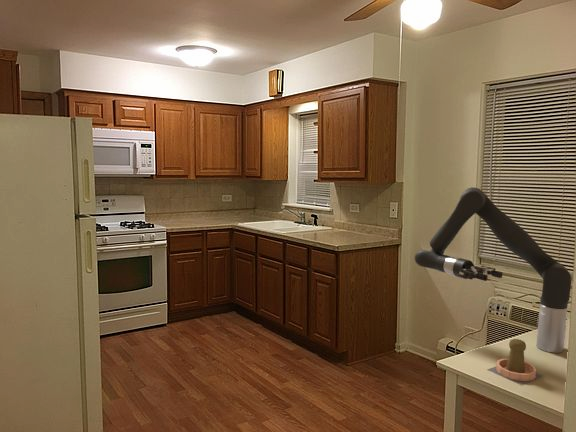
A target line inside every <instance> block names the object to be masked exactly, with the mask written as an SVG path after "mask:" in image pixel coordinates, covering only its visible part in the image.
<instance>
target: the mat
mask: <svg viewBox="0 0 576 432" xmlns="http://www.w3.org/2000/svg"><path fill="white" fill-rule="evenodd" d="M486 370H487V371H489V372H491V373H493V374H495V375H498V376H500V377H503V378H504V379H506V380H509V381H511V382H513V383H515V384H517V385H518V386H519V385H520V386H524V385H527V384H530V383H531V382H532V383H533V382H534V381H537V380H539V379H542V378H544V377H546V376H545V375H544V374H540V373H538V372H536V377H535V379H534V380H532V381H516V380H512V379H508V378H506V377H504V376H502V375H500V374H499V373H498V372H497V370H496V366H493V367H489V368H488V369H486Z"/></svg>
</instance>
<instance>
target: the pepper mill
mask: <svg viewBox="0 0 576 432" xmlns="http://www.w3.org/2000/svg"><path fill="white" fill-rule="evenodd" d="M508 346H509V348H510V350H509V354H508V358H507V359H508V362H507V366H506V370H508V371H511V372H516V373H525V362H526V361H525V351H526V349H527V345H526V342H525V341H524V340H522V339H518V338H513V339H510V341H509V343H508ZM524 361H525V362H524Z"/></svg>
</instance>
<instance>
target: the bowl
mask: <svg viewBox="0 0 576 432" xmlns="http://www.w3.org/2000/svg"><path fill="white" fill-rule="evenodd" d="M507 362H508V358H501V359H498V360H496V364H495V365H496V366H495V367H496V370H497V372H498V373H499V374H500V375H502V376H504V377H506V378H508V379H512V380H516V381H532V380H534V379H535V377H536V373H537V367H535V366H534V365H533V364H531V363H529V362H526V361H525V360H524V362H525V373H516V372H511V371H508V370H506V366H507ZM500 375H499V376H500ZM502 376H501V377H502ZM504 377H503V378H504ZM506 378H505V379H506ZM508 379H507V380H508ZM532 382H533V381H532Z"/></svg>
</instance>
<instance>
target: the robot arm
mask: <svg viewBox="0 0 576 432" xmlns="http://www.w3.org/2000/svg"><path fill="white" fill-rule="evenodd" d="M475 214H476V215H477V216H478V217H479V218H481V219H482V220H483V221H484V222H485V223H486V225H487V226H488V227H489V229H490V230H491V232H492V233H493V235H494V236H495V237H496V238H497V240H498V241H499V242H500V243H502V244H503V245H504V246H505V247H506V248H507V249H508V250H509V251H511V252H512V253H513V254H515V255H516V256H517V257H519V258H520V259H522V260H524V261H525V262H526V263H527V264H529V265H530V266H531V267H532V268H533V269H534V270H535V271H536V273H538V275H539V276H540V277H541V278H542V280H543V282H542V291H541V292H542V293H541V296H540V301H539V311H538V312H539V314H538V321H537V322H538V324H537V335H536V346H535V347H537V348H538V349H539V350H542V351H544V352H546V353H547V352H548V353H552V354H553V353H554V354H555V353H556V354H557V353H558V354H559V353H562V352H564V349H565V340H566V329H567V315H568V313H567V312H568V304H569V302H570V296H571V295H570V294H571V291H572V290H571V288H572V275H571V273H570V271H569V270H568V269H567V267H566V266H564V265H563V264H562V263H561V262H559V261H557V259H554V258H553V257H552V256H550V255H549V254H548V253H546V252H545V250H544V249H542V247H541V246H540V245H539V244H538V243H537V242H536V240H535V239H534V238H533V237H532V236H531V235H530V234H529V233H528V232H527V231H526V230H525V229H523V228H522V226H520V224H519V223H517V222H515V221H514V220H513V219H512V218H511V217H510V216H508V215H507V214H506V213H505V212H503V210H501V209H500V208H498V206H496V205H495V204H494V202H493V201H492V200H491V199H490V198H489V197H488V195H487V194H486V193H485V192H484V191H483V190H482V189H480V188H478V187H469V188H467V189H465V190H464V191H463V192H462V193H461V195H460V197H459V200H458V203H457V204H456V206H455V208H454V210H453V212H451V214H450V216H449V217H448V218H447V220H446V221H445V222H444V223H443V225H442V224H441V226H440V228H438V230H437V231H436V232H435V233H434V235H433V237H432V238H431V239H430V241H429V246H430V248H431V250H430V251H429V250H425V249H421V250H418V251H417V252H416V253H415V255H414V261H415V263H416V264H417V265H418V266H420V267H423V268H426V269H427V268H428V269H430V270H431V269H432V270H436V271H438V272H441V273H446V274H448V275H450V276H452V277H453V276H454V277H456V278H459V279H464V280H480V281H484V282H487V281H488V276H489V277H494V278H497V279H502V278H503V272H502V271H498V270H496V268H495V267H490V266H486V265H481V266H480V265H475V264H474V262H473V261H472V260H471V259H465V258H461V257H458V256H451V255H446V254H444V253H445V251H446V250H447V248H448V247H449V246H450V245H451V243H452V241H454V239H455V238H456V237H457V235H458V233H459V232H460V230H461V229H462V228H463V226H464V225H465V224H466V223H467V222H468V220H469V219H471V218H472V217H473V216H474V215H475Z"/></svg>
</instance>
